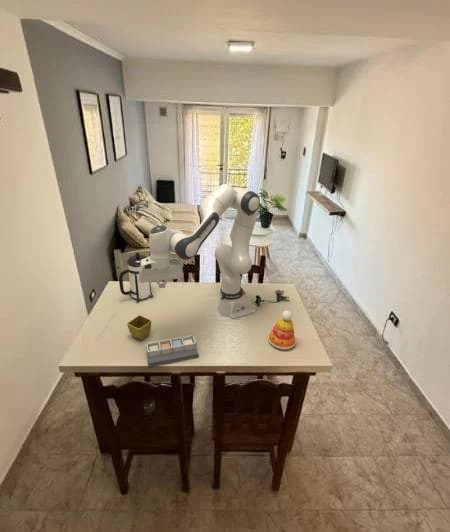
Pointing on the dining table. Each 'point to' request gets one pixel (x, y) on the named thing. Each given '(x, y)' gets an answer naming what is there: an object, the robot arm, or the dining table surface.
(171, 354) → the keypad
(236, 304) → the robot arm
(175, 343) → the key slate
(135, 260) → the coffee press
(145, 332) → the flower pot
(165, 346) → the key terracotta
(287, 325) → the stacking toy
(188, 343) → the key ivory
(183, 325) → the dining table surface
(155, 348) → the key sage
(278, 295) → the artificial flower
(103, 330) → the butter knife
